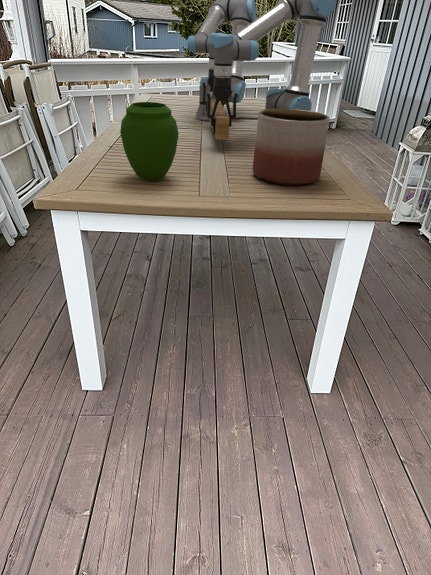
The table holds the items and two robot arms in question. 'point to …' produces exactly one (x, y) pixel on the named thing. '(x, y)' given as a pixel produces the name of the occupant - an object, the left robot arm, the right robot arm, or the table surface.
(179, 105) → the table surface
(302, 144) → the planter
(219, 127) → the beam
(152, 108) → the vase
